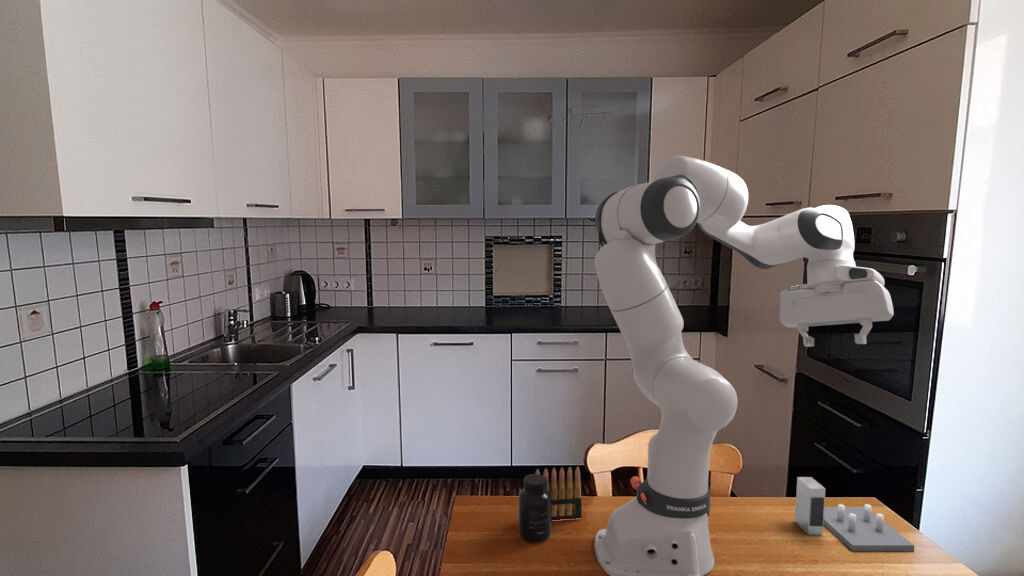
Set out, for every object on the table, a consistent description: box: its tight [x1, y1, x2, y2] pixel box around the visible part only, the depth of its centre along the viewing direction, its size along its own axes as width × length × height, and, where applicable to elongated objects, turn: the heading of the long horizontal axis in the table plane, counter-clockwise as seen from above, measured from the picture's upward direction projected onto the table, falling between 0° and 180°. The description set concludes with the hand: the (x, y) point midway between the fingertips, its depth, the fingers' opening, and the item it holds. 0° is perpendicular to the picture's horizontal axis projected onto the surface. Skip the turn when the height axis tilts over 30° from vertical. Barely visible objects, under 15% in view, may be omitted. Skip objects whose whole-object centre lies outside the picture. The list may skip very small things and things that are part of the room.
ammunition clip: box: [535, 465, 583, 520], centre depth 111 cm, size 11×2×12 cm, turn 98°
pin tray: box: [823, 503, 915, 552], centre depth 107 cm, size 12×14×4 cm
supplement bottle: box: [518, 473, 552, 543], centre depth 105 cm, size 7×7×12 cm
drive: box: [794, 476, 826, 536], centre depth 107 cm, size 3×5×10 cm, turn 0°
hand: (833, 344), depth 104 cm, fingers open, 8 cm apart
